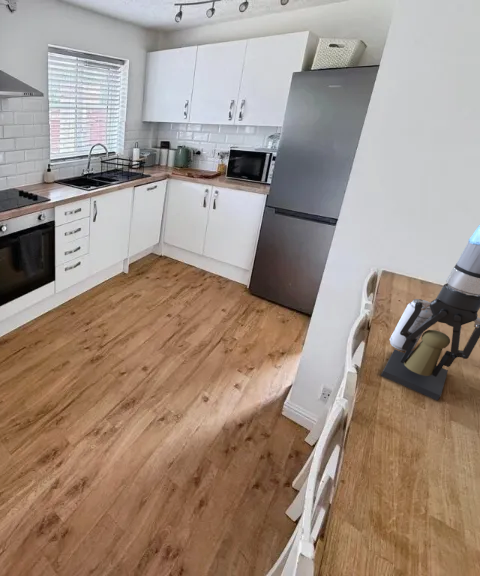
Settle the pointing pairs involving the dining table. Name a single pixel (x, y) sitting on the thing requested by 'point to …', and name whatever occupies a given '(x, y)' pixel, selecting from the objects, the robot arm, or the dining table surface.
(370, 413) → the dining table surface
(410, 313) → the energy drink can
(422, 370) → the cork
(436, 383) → the scale
